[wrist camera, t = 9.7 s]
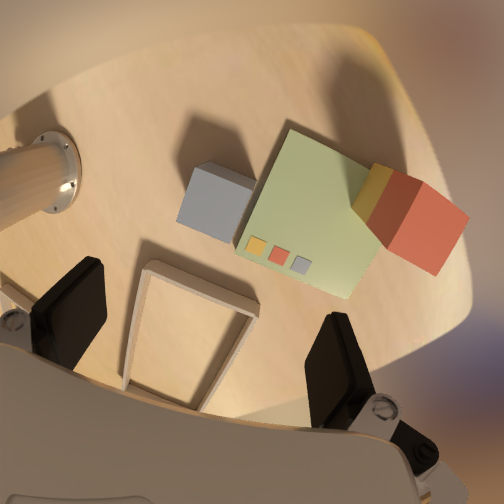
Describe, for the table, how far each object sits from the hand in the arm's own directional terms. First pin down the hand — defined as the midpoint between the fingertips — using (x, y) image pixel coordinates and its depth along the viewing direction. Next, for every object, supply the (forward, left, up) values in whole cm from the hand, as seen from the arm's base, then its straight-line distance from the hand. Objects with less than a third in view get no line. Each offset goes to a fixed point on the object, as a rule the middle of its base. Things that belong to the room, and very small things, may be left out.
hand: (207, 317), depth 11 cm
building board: (+9, 0, -24) cm, 25 cm away
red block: (+14, +6, -16) cm, 22 cm away
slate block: (-3, -2, -24) cm, 24 cm away
